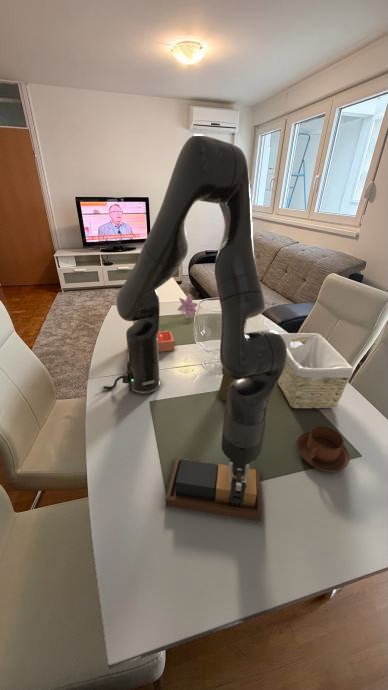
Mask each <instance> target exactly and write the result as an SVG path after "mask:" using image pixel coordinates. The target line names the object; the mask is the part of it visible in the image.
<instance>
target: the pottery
mask: <svg viewBox="0 0 388 690" xmlns="http://www.w3.org/2000/svg"><path fill="white" fill-rule="evenodd" d="M170 351H171V352H172V351H175V339H174V337H173V334H172V332H171V330H164V331H159V332H158V353H160V352H170Z"/></svg>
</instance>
